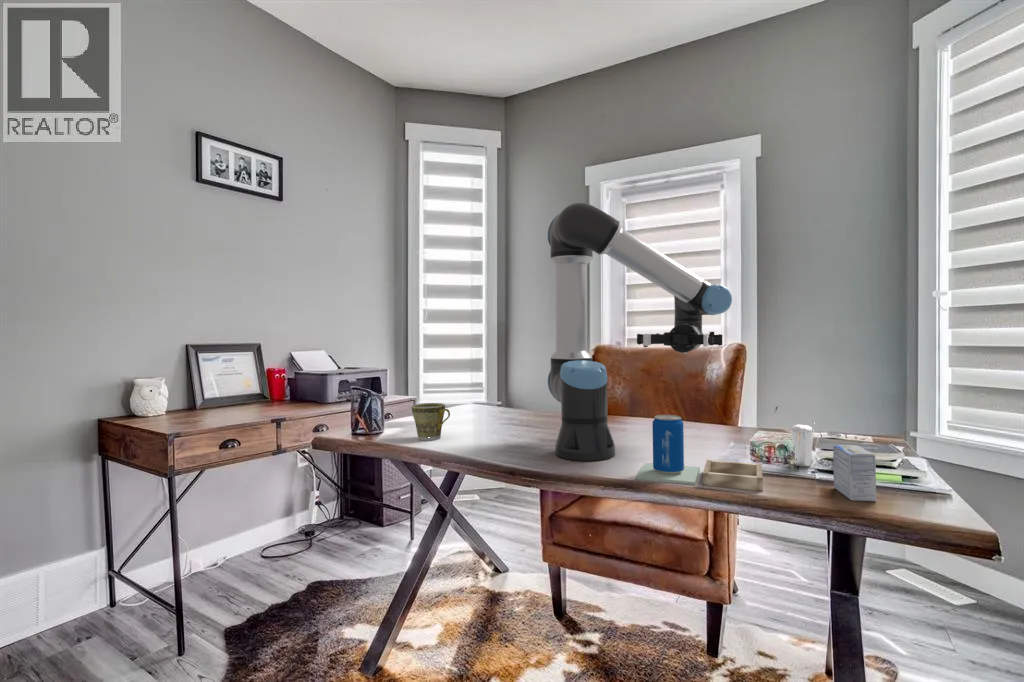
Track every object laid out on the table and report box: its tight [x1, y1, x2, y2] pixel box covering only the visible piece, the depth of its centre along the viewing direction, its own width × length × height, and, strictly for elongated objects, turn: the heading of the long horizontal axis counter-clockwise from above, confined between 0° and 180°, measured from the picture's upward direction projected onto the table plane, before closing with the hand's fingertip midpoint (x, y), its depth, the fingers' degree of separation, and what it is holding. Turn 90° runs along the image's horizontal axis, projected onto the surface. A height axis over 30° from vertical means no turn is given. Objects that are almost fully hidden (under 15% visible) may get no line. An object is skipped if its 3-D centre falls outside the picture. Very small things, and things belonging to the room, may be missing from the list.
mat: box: [635, 462, 701, 486], centre depth 117 cm, size 12×12×1 cm
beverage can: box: [651, 414, 685, 475], centre depth 117 cm, size 6×6×12 cm
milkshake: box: [790, 422, 816, 467], centre depth 122 cm, size 4×5×10 cm
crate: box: [702, 459, 764, 492], centre depth 111 cm, size 11×11×2 cm
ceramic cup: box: [411, 402, 451, 442], centre depth 159 cm, size 13×10×10 cm
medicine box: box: [832, 444, 877, 503], centre depth 101 cm, size 8×4×9 cm, turn 168°
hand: (674, 340), depth 125 cm, fingers open, 13 cm apart
